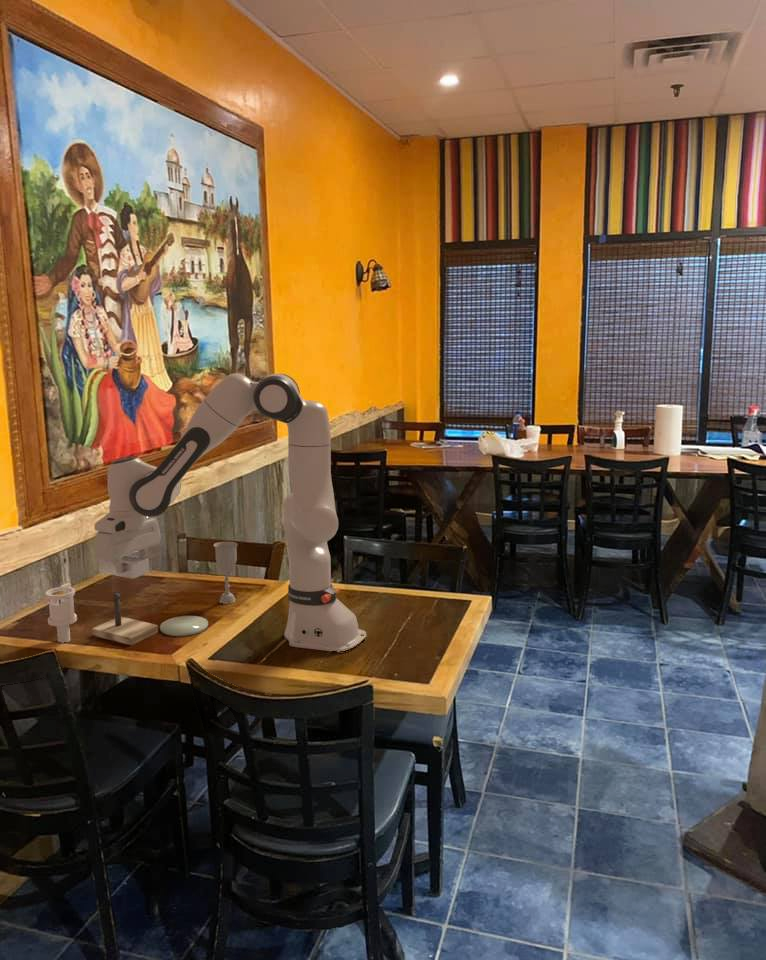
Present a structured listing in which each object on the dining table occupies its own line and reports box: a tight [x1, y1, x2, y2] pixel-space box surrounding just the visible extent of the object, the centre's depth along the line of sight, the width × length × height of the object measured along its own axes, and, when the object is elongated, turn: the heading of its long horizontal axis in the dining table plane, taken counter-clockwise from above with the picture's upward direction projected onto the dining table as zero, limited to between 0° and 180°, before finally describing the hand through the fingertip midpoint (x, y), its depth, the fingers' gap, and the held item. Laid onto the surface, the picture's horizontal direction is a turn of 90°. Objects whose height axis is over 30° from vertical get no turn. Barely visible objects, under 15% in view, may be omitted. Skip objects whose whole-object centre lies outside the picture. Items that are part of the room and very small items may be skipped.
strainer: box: [45, 582, 78, 644], centre depth 201 cm, size 7×7×15 cm
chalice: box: [213, 541, 239, 605], centre depth 230 cm, size 7×7×18 cm
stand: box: [91, 592, 159, 646], centre depth 206 cm, size 14×10×11 cm
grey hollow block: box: [98, 554, 150, 580], centre depth 203 cm, size 12×6×4 cm, turn 64°
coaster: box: [159, 615, 209, 637], centre depth 212 cm, size 13×13×1 cm
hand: (131, 568), depth 202 cm, fingers closed on grey hollow block, 6 cm apart
